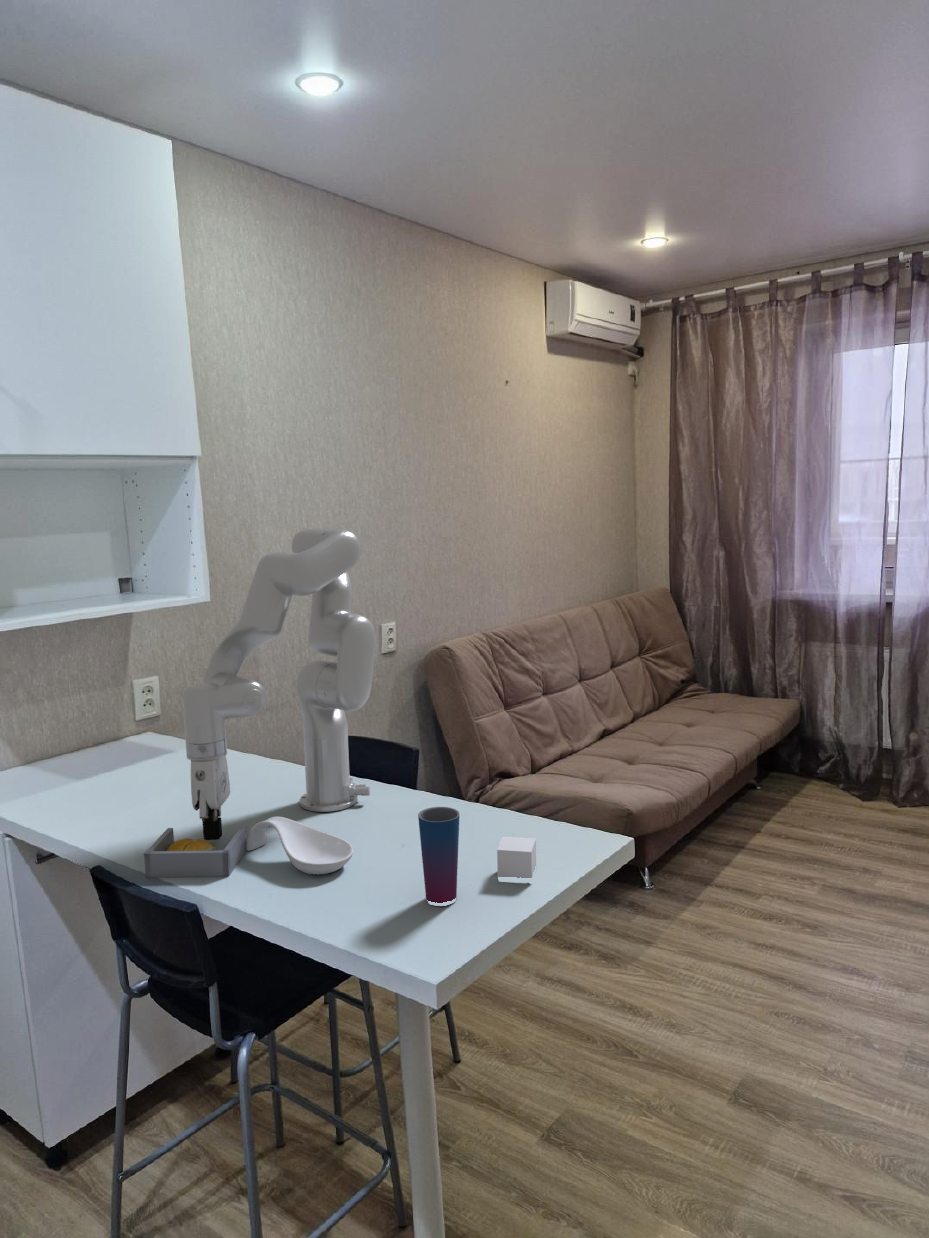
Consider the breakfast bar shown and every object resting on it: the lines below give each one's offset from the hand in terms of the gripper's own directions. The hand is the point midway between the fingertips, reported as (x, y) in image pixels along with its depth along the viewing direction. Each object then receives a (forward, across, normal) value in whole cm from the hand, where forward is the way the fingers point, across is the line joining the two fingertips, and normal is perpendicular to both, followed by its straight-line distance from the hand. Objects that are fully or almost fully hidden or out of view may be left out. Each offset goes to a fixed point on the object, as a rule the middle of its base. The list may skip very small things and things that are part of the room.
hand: (213, 838), depth 172 cm
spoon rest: (+2, -9, -18) cm, 20 cm away
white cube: (+2, -17, -59) cm, 61 cm away
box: (+1, -9, 0) cm, 9 cm away
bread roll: (+2, -7, +2) cm, 8 cm away
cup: (+1, -26, -46) cm, 52 cm away
